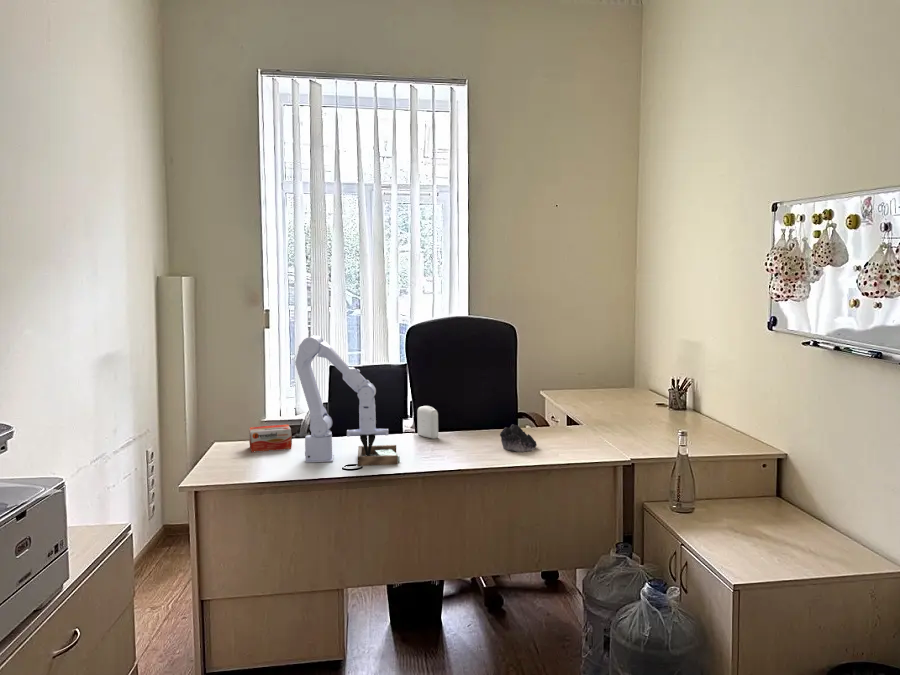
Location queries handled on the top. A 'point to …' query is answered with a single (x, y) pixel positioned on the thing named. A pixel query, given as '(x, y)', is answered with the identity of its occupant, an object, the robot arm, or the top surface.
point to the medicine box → (270, 438)
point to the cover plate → (386, 453)
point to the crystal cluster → (517, 439)
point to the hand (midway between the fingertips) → (368, 455)
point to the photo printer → (427, 422)
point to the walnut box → (377, 459)
